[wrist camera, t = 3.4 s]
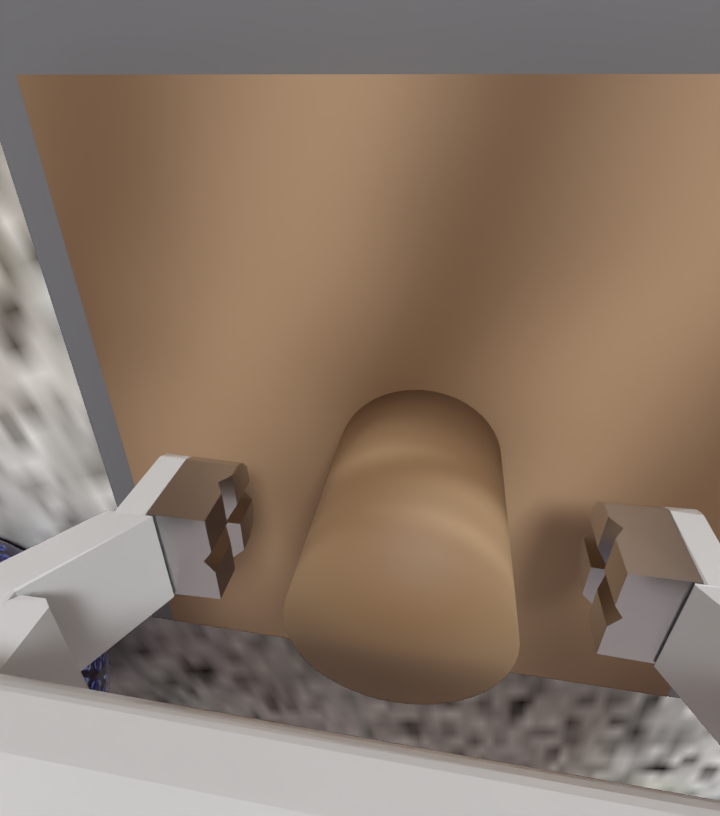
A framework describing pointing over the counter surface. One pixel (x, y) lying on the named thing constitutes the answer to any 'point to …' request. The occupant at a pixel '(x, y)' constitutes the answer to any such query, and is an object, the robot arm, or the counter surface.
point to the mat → (304, 54)
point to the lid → (406, 340)
